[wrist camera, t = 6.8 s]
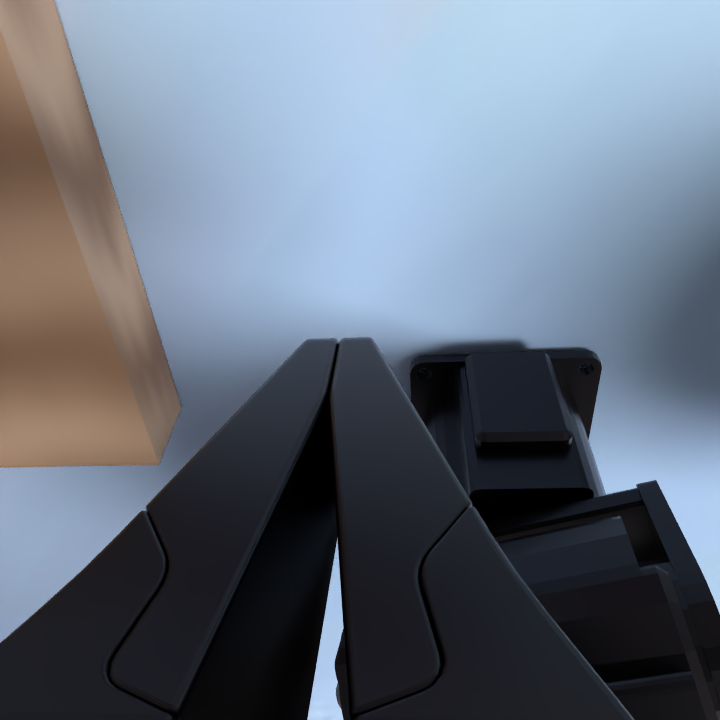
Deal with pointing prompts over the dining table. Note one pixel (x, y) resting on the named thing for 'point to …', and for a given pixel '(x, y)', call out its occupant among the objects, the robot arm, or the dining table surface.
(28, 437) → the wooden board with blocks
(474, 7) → the dining table surface
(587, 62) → the dining table surface
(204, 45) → the dining table surface
